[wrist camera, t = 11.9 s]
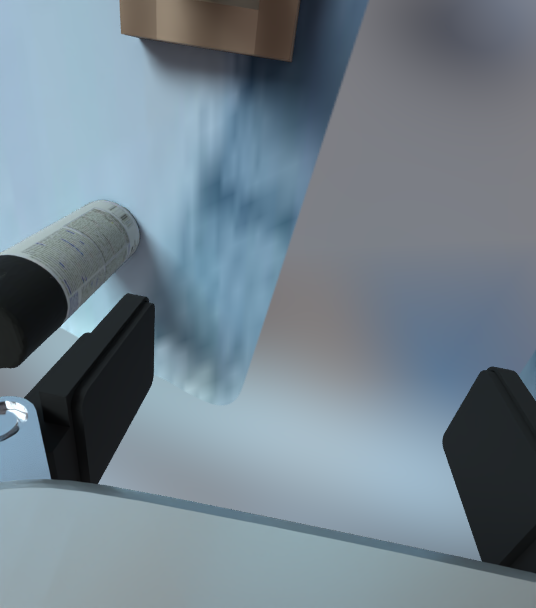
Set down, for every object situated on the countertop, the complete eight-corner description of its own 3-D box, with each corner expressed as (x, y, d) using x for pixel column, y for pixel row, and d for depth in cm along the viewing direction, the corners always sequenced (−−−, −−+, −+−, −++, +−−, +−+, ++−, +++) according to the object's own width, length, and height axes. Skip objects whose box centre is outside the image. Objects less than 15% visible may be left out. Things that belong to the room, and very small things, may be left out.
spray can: (73, 197, 40) (-105, 286, 23) (137, 198, 39) (3, 290, 22) (88, 257, 43) (-57, 374, 26) (147, 258, 43) (38, 380, 26)
